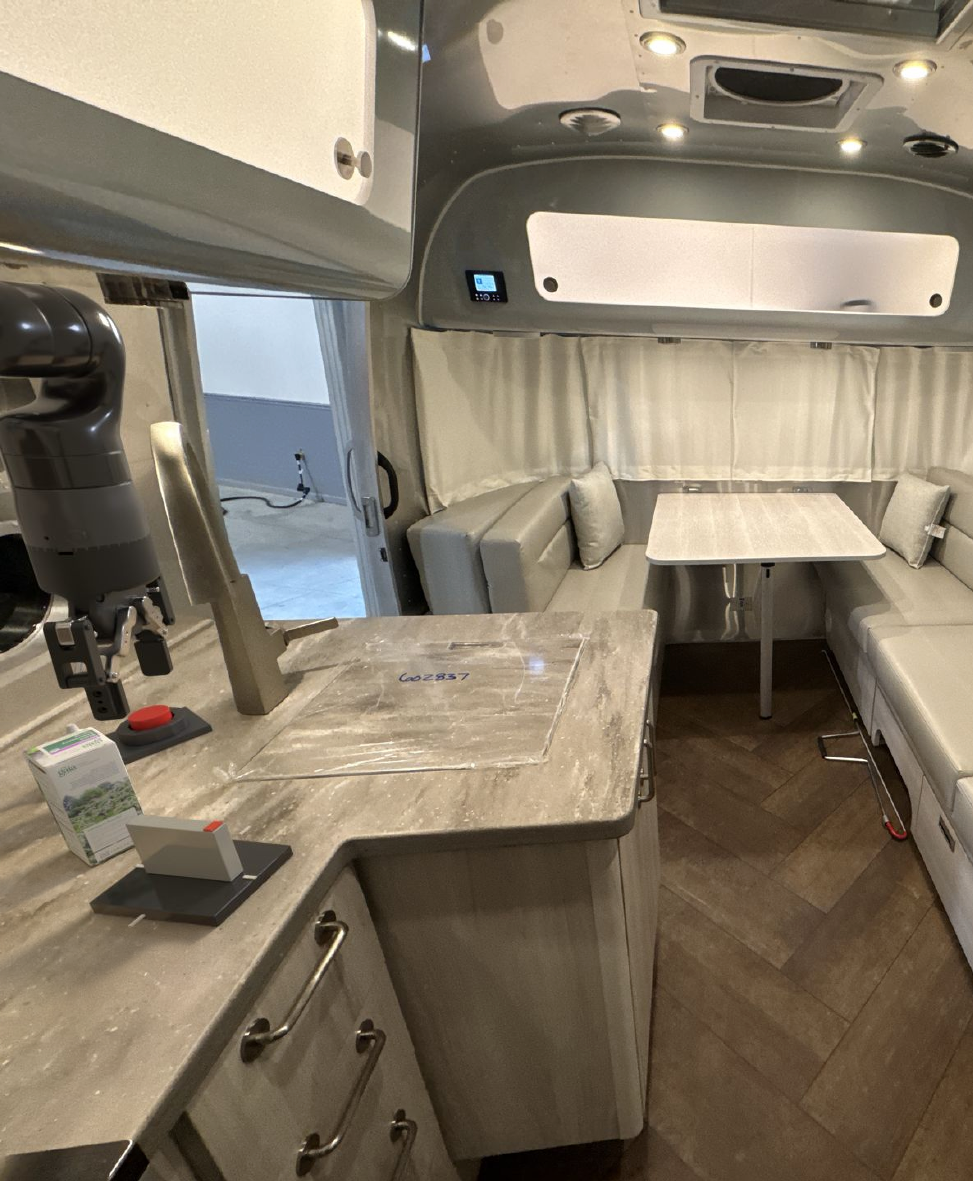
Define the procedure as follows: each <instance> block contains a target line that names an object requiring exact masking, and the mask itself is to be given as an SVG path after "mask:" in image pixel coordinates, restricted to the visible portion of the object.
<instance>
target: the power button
mask: <svg viewBox="0 0 973 1181" xmlns="http://www.w3.org/2000/svg"><path fill="white" fill-rule="evenodd" d="M169 707H170V706H168V705H166V704H154V705H149V706H146V707H142V708H140V709H137V710H135V711H134V712H132V713H129V714H130V715H129V714H128V717H127V719H128V721H129V723H130V726H131V728H132V729H133V730H137V731H141V730H146V729H152V728H155V727H158V726H160V725H163V724H165V723H167V722H169V721H170V720H172V714H171V712H170V709H169Z"/></svg>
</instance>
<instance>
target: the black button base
mask: <svg viewBox="0 0 973 1181" xmlns="http://www.w3.org/2000/svg"><path fill="white" fill-rule="evenodd" d="M168 707H169V709H170V712H171V714H172V720H170V721H169V722H167V723H165V724H163V725H160V726H158V727H155V728H152V729H146V730H141V731H137V730H133V729H132V728H131V726H130V723H129V721H128V718H126V719H125V720H124V721H122V722H120V723H119V724H118V726H117V728H116V729H115V731H111V732H109V733H106V734H104V735H105V736H106V737H107V738H109V739H110V740H112V741H114V742H115V743H116V746H117V748H118V750H119V753H120V755H121V758H122V760H123V763H124V765H125V766H126V765H129V764H132V763H134V762H137V761H139V760H142V759H145V758H147V757H150V756H153V755H155V754H158V753H161V752H162V751H165V750H168V749H171V748H173V747H175V746H179V745H180V744H183V743H186V742H189V741H190V740H193V739H196V738H199V737H201V736H204V735H206V734H209V733H211V732H213V731H214V730H213V727H212V724H210V723H209V722H208V721H206V720H205V719H203V718H202V717H201V716H199V715H198V714H197V713H195V712H194V711H192V710H191V709H190V708H188V707H187V706H182V707H178V706H177V707H175V706H168Z"/></svg>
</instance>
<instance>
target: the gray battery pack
mask: <svg viewBox="0 0 973 1181" xmlns="http://www.w3.org/2000/svg"><path fill="white" fill-rule="evenodd" d="M125 825H126V827H127V830H128V832H129V834H130V836H131V839H132V841H133V843H134V845H135V846H134V847H135V848H134V849H135V850H136V852H137V854H138V856H139V859H140V861H141V863H143V866H144V868H145V870H146V872H147V873H153V874H163V875H172V876H182V877H191V878H201V879H211V880H220V881H230V882H231V881H233V880H234V879H235V878H236V877H237V876H238V875H239V874H240V873H242V872H243V868H242V865H241V862H240V860H239V857H238V854H237V852H236V849H235V846H234V843H233V841H232V839H233V838H232V835H231V832H230V830H229V827H228V824H227V823H226V822H224V821H221V820H220V821H219V820H213V821H212V820H203V819H194V818H184V817H183V818H182V817H173V816H172V817H171V816H163V815H151V814H145V815H143V814H139V815H138V816H136V817H135V818H134V819H132V820H131V821H129V822H128V823H126V824H125Z"/></svg>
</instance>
